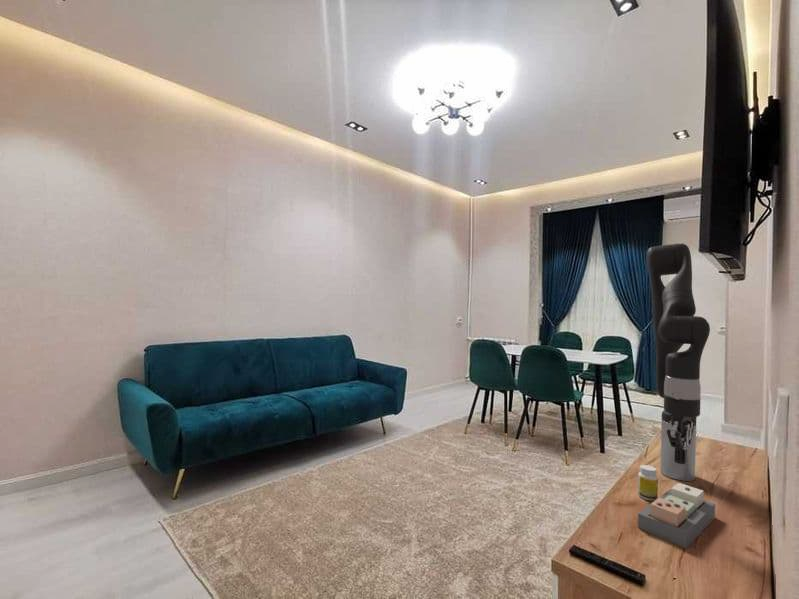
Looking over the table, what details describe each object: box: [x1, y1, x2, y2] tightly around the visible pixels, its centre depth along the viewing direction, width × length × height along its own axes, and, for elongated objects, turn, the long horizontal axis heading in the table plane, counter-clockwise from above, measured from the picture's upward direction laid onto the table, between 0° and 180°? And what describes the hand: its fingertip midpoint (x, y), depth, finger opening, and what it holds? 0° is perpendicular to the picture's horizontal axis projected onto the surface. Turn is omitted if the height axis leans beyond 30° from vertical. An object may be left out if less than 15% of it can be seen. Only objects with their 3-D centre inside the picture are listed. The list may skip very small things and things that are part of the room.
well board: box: [637, 488, 716, 549], centre depth 100 cm, size 22×10×4 cm, turn 128°
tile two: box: [665, 495, 695, 518], centre depth 100 cm, size 6×6×3 cm
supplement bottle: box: [637, 464, 659, 502], centre depth 113 cm, size 5×5×8 cm
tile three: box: [650, 496, 686, 527], centre depth 96 cm, size 6×6×3 cm
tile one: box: [670, 482, 705, 509], centre depth 104 cm, size 6×6×3 cm
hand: (680, 462), depth 100 cm, fingers closed
